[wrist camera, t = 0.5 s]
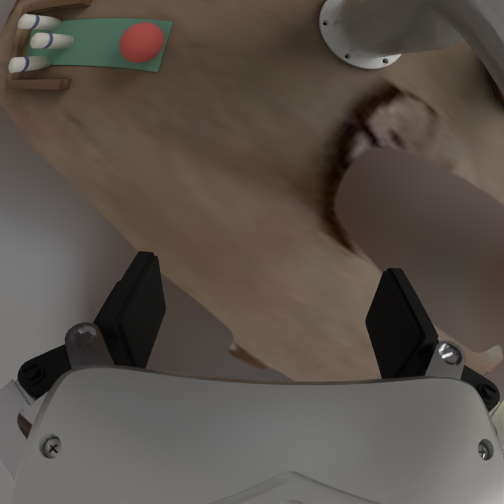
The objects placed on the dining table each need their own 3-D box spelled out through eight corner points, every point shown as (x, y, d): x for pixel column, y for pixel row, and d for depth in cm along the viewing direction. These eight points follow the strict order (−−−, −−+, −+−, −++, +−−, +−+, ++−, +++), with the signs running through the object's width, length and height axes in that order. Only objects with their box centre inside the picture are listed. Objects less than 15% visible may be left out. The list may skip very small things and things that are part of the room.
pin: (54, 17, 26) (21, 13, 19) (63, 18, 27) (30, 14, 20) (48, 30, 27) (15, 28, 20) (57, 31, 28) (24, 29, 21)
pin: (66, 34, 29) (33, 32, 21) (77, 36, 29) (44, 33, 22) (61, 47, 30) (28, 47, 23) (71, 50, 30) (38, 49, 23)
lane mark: (173, 21, 29) (173, 21, 29) (158, 72, 34) (157, 72, 33) (26, 26, 26) (25, 26, 26) (17, 66, 30) (16, 66, 30)
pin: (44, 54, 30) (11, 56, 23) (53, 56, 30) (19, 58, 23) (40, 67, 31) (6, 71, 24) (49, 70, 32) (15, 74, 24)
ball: (141, 22, 29) (123, 15, 24) (176, 32, 30) (163, 24, 25) (124, 57, 32) (104, 56, 27) (158, 68, 33) (142, 67, 28)
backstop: (34, 6, 24) (23, 5, 21) (93, -3, 26) (83, -6, 23) (16, 87, 32) (5, 89, 30) (69, 88, 34) (58, 90, 31)
